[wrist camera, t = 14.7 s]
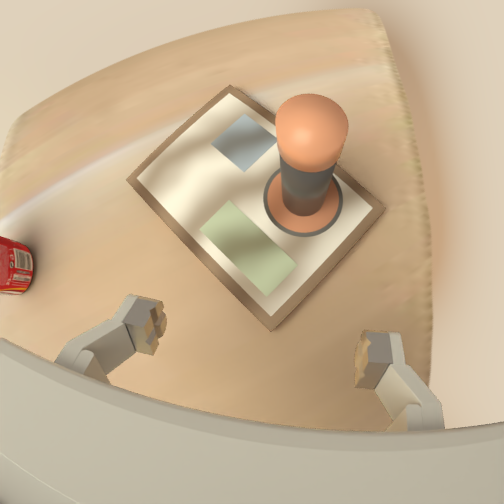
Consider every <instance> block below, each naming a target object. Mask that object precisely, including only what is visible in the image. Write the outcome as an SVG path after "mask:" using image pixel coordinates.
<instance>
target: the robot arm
mask: <svg viewBox="0 0 504 504" xmlns="http://www.w3.org/2000/svg"><path fill="white" fill-rule="evenodd" d="M163 308H164V305H163V302H162V301H160V300H155V299H151V298H146V297H142V296H137V295H133V294H129V295H127V296H126V298H125V299H124V301H123V302H122V304H121V306H120V307H119V309H118V310H117V312H116V313H115V315H114V316H113V318H112V319H111V320H109V319H108V320H106V321H104V322H103V323H101V324H99V325H97V326H95V327H94V328H92V329H90V330H88V331H86V332H85V333H83V334H81V335H79V336H77V337H76V338H74V339H72V340H70V341H68V342H67V343H66V345H65V346H64V348H63V349H62V351H61V352H60V354H59V355H58V357H57V359H56V360H55V362H52V361H50V360H47V359H45V358H43V357H41V356H39V355H37V354H34V353H32V352H30V351H28V350H26V349H24V348H22V347H20V346H18V345H16V344H14V343H12V342H10V341H8V340H7V339H4V338H0V504H504V422H498V423H492V424H485V425H478V426H471V427H462V428H452V429H445V427H444V419H443V413H442V406H441V402H440V401H439V400H438V399H437V398H436V396H435V395H434V394H433V393H432V392H431V390H430V389H429V388H428V387H427V385H426V384H425V383H424V382H423V381H422V380H421V378H420V377H419V376H418V375H417V374H416V372H415V371H414V370H413V369H412V368H411V367H410V365H406V362H405V356H404V350H403V344H402V338H401V334H400V333H399V332H387V331H376V330H364V331H363V332H362V334H361V341H360V342H359V343H358V344H357V347H356V350H355V356H354V365H355V366H356V368H357V370H356V372H355V388H364V389H375V390H374V391H375V392H376V394H377V396H378V397H379V399H380V401H381V402H382V404H383V406H384V407H385V409H386V411H387V412H388V414H389V416H390V417H391V419H392V421H393V422H392V424H391V425H390V426H389V427H388V428H387V429H386V430H385V431H384V432H375V431H344V430H328V429H316V428H305V427H296V426H287V425H279V424H272V423H265V422H259V421H252V420H246V419H241V418H235V417H230V416H225V415H220V414H215V413H210V412H205V411H201V410H197V409H192V408H188V407H184V406H180V405H176V404H172V403H169V402H165V401H161V400H158V399H154V398H151V397H147V396H144V395H141V394H138V393H134V392H131V391H128V390H125V389H122V388H119V387H116V386H113V385H111V383H110V381H109V379H108V378H107V376H106V375H107V374H108V373H110V372H111V371H112V370H114V369H115V368H116V367H117V366H119V365H120V364H121V363H123V362H124V361H125V360H127V359H128V358H129V357H131V356H132V355H133V354H134V353H136V352H140V353H144V354H149V355H154V353H155V351H156V349H157V347H158V345H159V342H158V338H160V337H162V336H163V334H164V332H165V330H166V325H167V318H166V314H165V313H164V312H163V311H162V310H163Z"/></svg>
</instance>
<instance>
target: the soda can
mask: <svg viewBox="0 0 504 504" xmlns="http://www.w3.org/2000/svg"><path fill="white" fill-rule="evenodd" d="M32 274H33V259H32V255H31V253H30V251H29V249H28V248H27V247H26V246H25V245H23V244H21V243H18V242H16V241H13V240H10V239H7V238H4V237H1V236H0V295H20V294H22V293H23V292H25V290H26V289H27V288H28V286H29V284H30V282H31V279H32Z"/></svg>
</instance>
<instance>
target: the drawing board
mask: <svg viewBox="0 0 504 504" xmlns="http://www.w3.org/2000/svg"><path fill="white" fill-rule="evenodd" d="M275 118H276V116H274V115H273V114H272V113H270V112H269V111H268V110H266V109H265V108H263V107H262V106H261V105H259V104H258V103H256V102H255V101H253V100H252V99H251V98H249V97H248V96H246V95H245V94H243V93H242V92H240V91H239V90H237V89H236V88H234V87H233V86H231V85H229V86H228V87H226V88H225V89H224V90H223V91H221V92H220V93H219V94H218V95H216V96H215V97H214V98H213V99H212V100H210V101H209V102H208V103H207V104H206V105H204V106H203V107H202V108H201V109H200V110H199V111H197V112H196V113H195V114H194V115H193V116H192V117H191V118H189V119H188V120H187V121H186V122H185V123H184V124H183V125H182V126H180V127H179V128H178V129H177V130H176V131H175V132H174V133H173V134H172V135H171V136H170V137H168V138H167V139H166V140H165V141H164V142H163V143H162V144H161V145H160V146H159V147H158V148H157V149H156V150H155V151H154V152H153V153H152V154H151V155H150V156H149V157H148V158H147V159H146V160H145V161H144V162H143V163H142V164H141V165H140V166H139V167H138V168H137V169H136V170H135V171H134V172H133V173H132V174H131V175H130V176H129V177H128V178H127V179H126V181H127V182H128V183H129V184H130V185H131V186H132V187H133V188H134V190H135V191H136V192H137V193H138V194H139V195H140V196H141V197H142V198H143V200H144V201H145V202H146V203H147V204H148V205H149V206H150V207H151V208H152V209H153V211H154V212H155V213H156V214H157V215H158V216H159V217H160V218H161V219H162V220H163V221H164V222H165V224H166V225H167V226H168V227H169V228H170V229H171V230H172V231H173V232H174V233H175V234H176V235H177V236H178V238H179V239H180V240H181V241H182V242H183V243H184V244H185V245H186V246H187V247H188V248H189V249H190V250H191V251H192V252H193V253H194V254H195V256H196V257H197V258H198V259H199V260H200V261H201V262H202V263H203V264H204V265H205V266H206V267H207V268H208V269H209V270H210V271H211V272H212V273H213V274H214V275H215V276H216V277H217V278H218V279H219V280H220V282H221V283H222V284H223V285H224V286H225V287H226V288H227V289H228V290H229V291H230V292H231V293H232V294H233V295H234V296H235V297H236V298H237V299H238V300H239V301H240V302H241V303H242V304H243V305H244V306H245V307H246V308H247V309H248V310H249V311H250V312H251V313H252V314H253V315H254V316H255V317H256V318H257V319H258V320H259V321H260V322H261V323H262V324H263V325H264V326H265V327H266V328H267V329H268V330H269V331H270V332H272V331H273V330H274V329H275V328H276V327H277V326H278V325H279V324H280V323H281V322H282V321H283V320H284V319H285V318H286V317H287V316H288V315H289V314H290V313H291V312H292V311H293V310H294V309H295V308H296V306H297V305H298V304H299V303H300V302H301V301H302V300H303V299H304V298H305V297H306V296H307V295H308V294H309V293H310V292H311V291H312V290H313V289H314V288H315V287H316V286H317V285H318V284H319V283H320V282H321V280H322V279H323V278H324V277H325V276H326V275H327V274H328V273H329V272H330V271H331V270H332V269H333V268H334V267H335V265H336V264H337V263H338V262H339V261H340V260H341V259H342V258H343V257H344V256H345V255H346V253H347V252H348V251H349V250H350V249H351V248H352V247H353V246H354V245H355V243H356V242H357V241H358V240H359V239H360V238H361V237H362V236H363V235H364V233H365V232H366V231H367V230H368V229H369V228H370V227H371V225H372V224H373V223H374V222H375V221H376V220H377V218H378V217H379V216H380V215H381V214H382V213H383V212H384V210H385V209H386V208H385V207H384V206H383V205H382V204H381V203H380V202H379V201H377V200H376V199H375V198H374V197H373V196H372V195H371V194H370V193H369V192H368V191H367V190H365V189H364V188H363V187H362V186H361V185H360V184H359V183H358V182H356V181H355V180H354V179H353V178H352V177H351V176H350V175H348V174H347V173H346V172H345V171H344V170H343V169H342V168H340V167H339V166H338V165H337V164H336V166H335V169H334V172H333V175H332V178H331V181H330V184H329V188H328V191H327V194H326V197H325V200H324V203H323V205H322V207H321V208H320V210H319V211H318V212H316V213H315V214H313V215H310V216H297V215H295V214H293V213H291V212H290V211H289V210H288V209H287V208H286V207H285V205H284V203H283V199H282V185H281V170H280V155H279V151H278V147H277V136H276V125H275Z"/></svg>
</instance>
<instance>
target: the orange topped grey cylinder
mask: <svg viewBox="0 0 504 504" xmlns="http://www.w3.org/2000/svg"><path fill="white" fill-rule="evenodd" d="M275 125H276V136H277V147H278V151H279V155H280V170H281V185H282V199H283V203H284V205H285V207H286V208H287V209H288V210H289V211H290V212H291V213H293V214H295V215H297V216H310V215H313V214H315V213H316V212H318V211H319V210H320V208H321V207H322V205H323V203H324V200H325V197H326V194H327V191H328V188H329V184H330V181H331V178H332V175H333V172H334V169H335V166H336V163H337V160H338V159H339V157H340V155H341V152H342V149H343V146H344V142H345V139H346V136H347V133H348V120H347V117H346V114H345V113H344V111H343V110H342V108H341V107H340V106H339V105H338V104H337V103H335V102H334V101H332V100H331V99H329V98H327V97H324V96H321V95H317V94H301V95H297V96H294V97H292V98H290V99H288V100H287V101H285V102H284V103H283V104H282V105H281V107H280V108H279V110H278V111H277V114H276V118H275Z"/></svg>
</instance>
